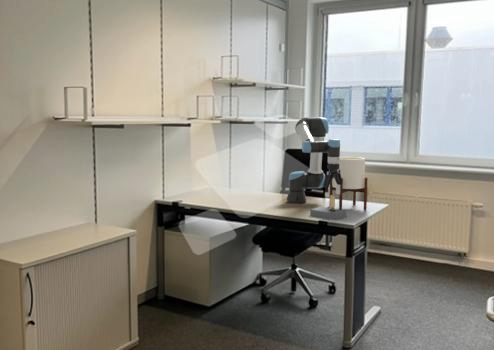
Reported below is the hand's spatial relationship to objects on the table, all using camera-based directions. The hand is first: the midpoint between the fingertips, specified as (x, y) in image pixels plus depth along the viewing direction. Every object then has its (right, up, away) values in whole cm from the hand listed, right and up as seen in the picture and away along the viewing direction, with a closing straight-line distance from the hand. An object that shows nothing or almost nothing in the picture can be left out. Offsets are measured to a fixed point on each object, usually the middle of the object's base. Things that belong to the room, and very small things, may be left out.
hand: (332, 195), depth 315 cm
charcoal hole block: (-2, -14, +3) cm, 14 cm away
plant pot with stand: (+17, -10, +33) cm, 38 cm away
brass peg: (0, -14, +1) cm, 14 cm away
